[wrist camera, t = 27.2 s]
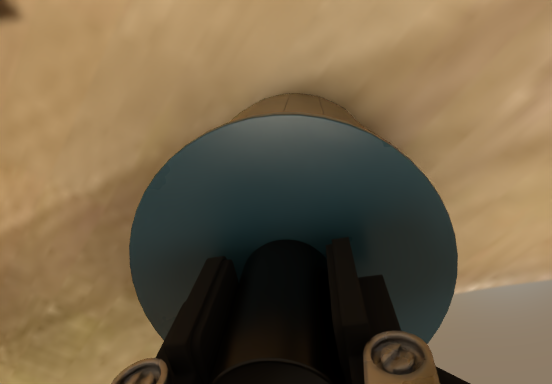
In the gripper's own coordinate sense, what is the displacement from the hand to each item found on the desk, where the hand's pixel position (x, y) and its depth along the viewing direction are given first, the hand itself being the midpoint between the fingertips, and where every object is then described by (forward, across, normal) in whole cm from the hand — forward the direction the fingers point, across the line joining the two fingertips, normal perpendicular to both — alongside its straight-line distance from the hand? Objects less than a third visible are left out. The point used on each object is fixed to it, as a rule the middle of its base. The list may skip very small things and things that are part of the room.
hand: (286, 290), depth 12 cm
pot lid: (+1, 0, 0) cm, 1 cm away
